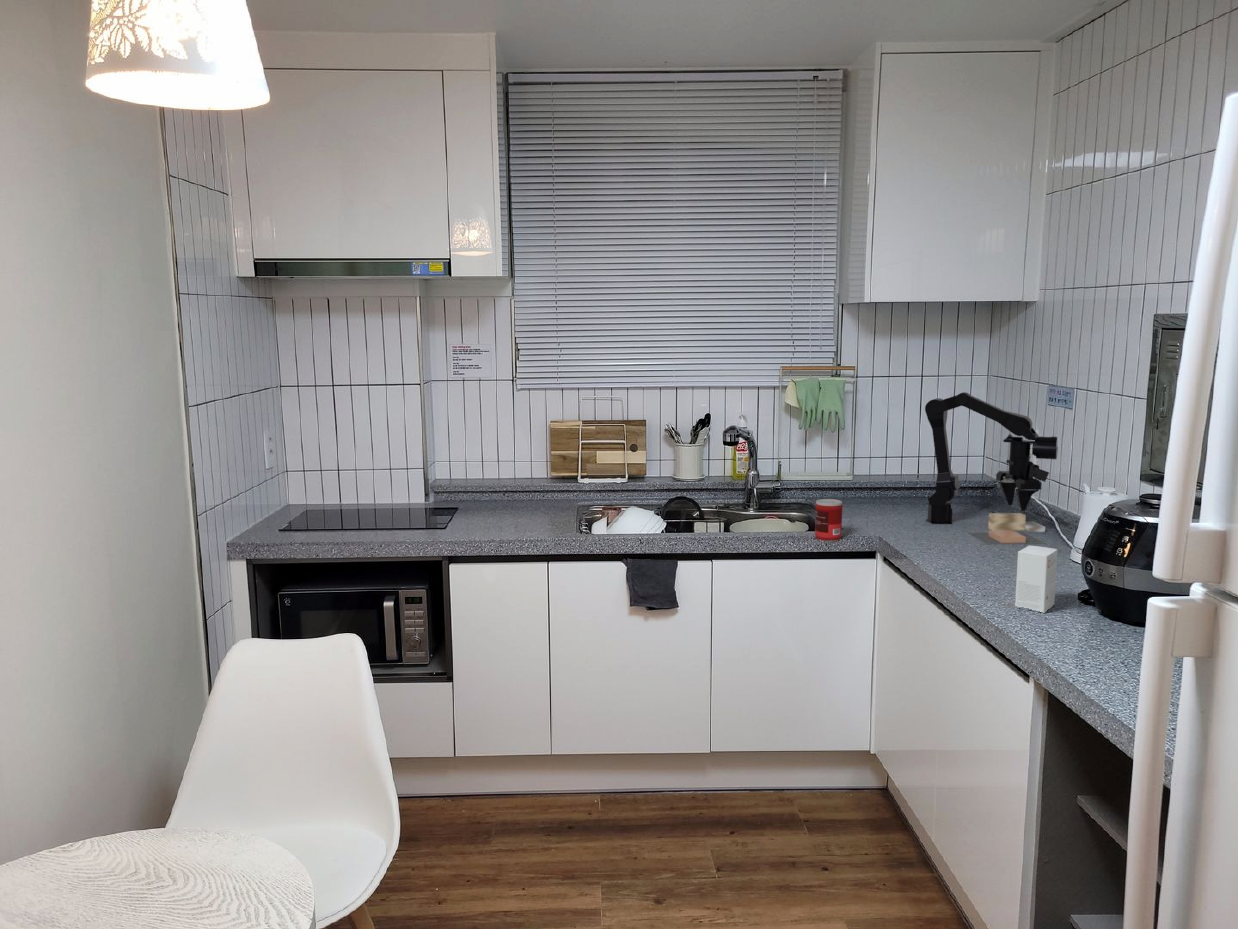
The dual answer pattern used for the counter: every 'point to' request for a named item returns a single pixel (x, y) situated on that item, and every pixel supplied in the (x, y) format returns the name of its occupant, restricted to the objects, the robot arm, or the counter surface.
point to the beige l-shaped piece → (1012, 522)
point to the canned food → (828, 519)
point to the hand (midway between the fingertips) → (1016, 507)
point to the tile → (1007, 536)
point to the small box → (1036, 578)
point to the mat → (991, 541)
